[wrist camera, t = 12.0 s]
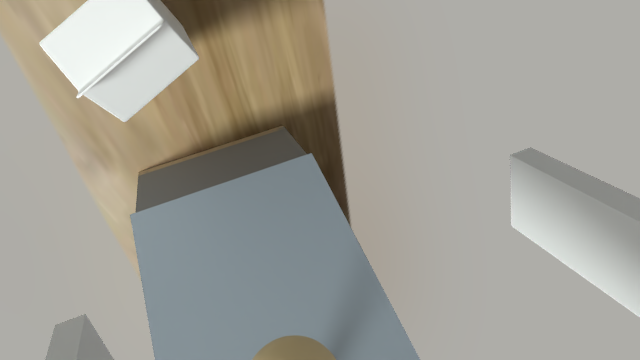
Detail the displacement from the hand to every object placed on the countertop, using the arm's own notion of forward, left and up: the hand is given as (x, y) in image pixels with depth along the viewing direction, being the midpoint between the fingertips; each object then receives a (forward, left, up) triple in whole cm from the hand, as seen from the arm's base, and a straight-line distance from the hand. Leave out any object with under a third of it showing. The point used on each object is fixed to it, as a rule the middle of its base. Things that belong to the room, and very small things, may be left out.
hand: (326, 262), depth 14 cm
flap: (+13, +7, -16) cm, 22 cm away
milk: (-1, -7, -37) cm, 38 cm away
